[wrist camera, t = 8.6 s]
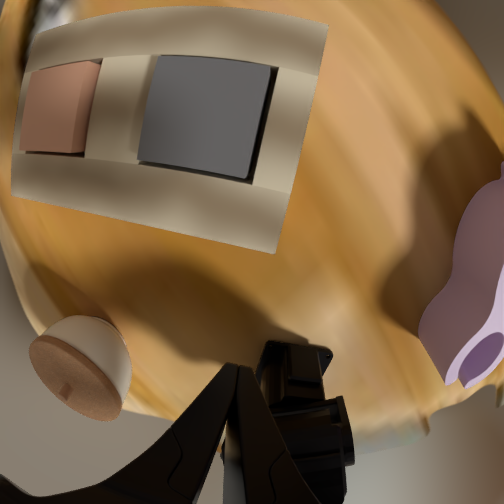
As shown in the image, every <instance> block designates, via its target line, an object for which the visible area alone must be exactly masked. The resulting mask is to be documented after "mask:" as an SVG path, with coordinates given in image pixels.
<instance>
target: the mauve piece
mask: <svg viewBox="0 0 504 504" xmlns="http://www.w3.org/2000/svg"><path fill="white" fill-rule="evenodd" d="M418 336H419V339H420V341H421V342H422V344H423V346H424V347H425V349H426V351H427V353H428V354H429V356H430V358H431V359H432V361H433V363H434V365H435V366H436V368H437V370H438V372H439V374H440V375H441V377H442V379H443V381H444V383H445V385H450V384H451V383H453V382H454V381H455V380H456V379H457V378H459V380H460V381H461V383H462V385H463V387H464V388H465V389H468V388H470V387H472V386H474V385H475V384H477V383H479V382H480V381H481V380H483V379H484V378H485V377H486V376H487V375H489V374H490V373H491V372H492V371H493V370H494V369H495V367H496V366H497V365H498V364H499V363H500V361H501V360H502V359H503V357H504V161H503V162H502V163H501V178H500V179H499V180H494V181H491V182H489V183H487V184H486V185H484V186H483V187H482V188H481V189H480V190H479V191H478V192H477V193H476V194H475V195H474V196H473V198H472V199H471V201H470V202H469V204H468V205H467V207H466V209H465V211H464V213H463V216H462V218H461V220H460V223H459V226H458V229H457V233H456V237H455V241H454V248H453V267H452V272H451V276H450V278H449V280H448V282H447V284H446V285H445V287H444V288H443V289H442V290H441V291H440V292H439V293H438V294H437V295H436V296H435V297H434V298H433V299H432V300H431V302H430V303H429V304H428V306H427V307H426V309H425V311H424V312H423V314H422V317H421V319H420V322H419V327H418Z"/></svg>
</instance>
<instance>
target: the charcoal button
mask: <svg viewBox="0 0 504 504" xmlns="http://www.w3.org/2000/svg"><path fill="white" fill-rule="evenodd" d="M270 85H271V75H270V66H265V65H259V64H253V63H247V62H240V61H233V60H224V59H215V58H203V57H186V56H158V59H157V62H156V66H155V70H154V74H153V78H152V82H151V86H150V90H149V94H148V99H147V104H146V108H145V113H144V118H143V124H142V129H141V135H140V141H139V148H138V154H137V160H141V161H149V162H156V163H162V164H169V165H175V166H181V167H187V168H193V169H198V170H204V171H209V172H215V173H220V174H225V175H230V176H235V177H240V178H244V179H245V178H246V176H247V175H248V174H249V173H250V172H251V168H252V164H253V159H254V155H255V150H256V146H257V141H258V137H259V133H260V128H261V124H262V119H263V115H264V111H265V106H266V102H267V98H268V94H269V89H270Z"/></svg>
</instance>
